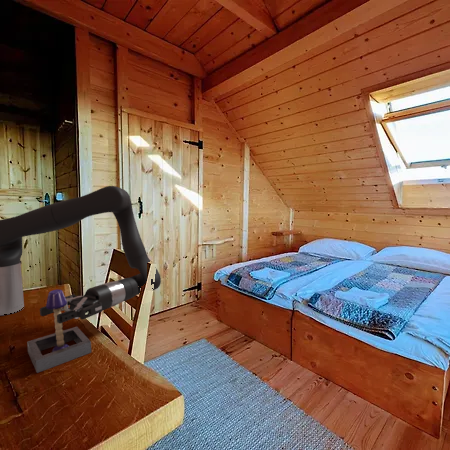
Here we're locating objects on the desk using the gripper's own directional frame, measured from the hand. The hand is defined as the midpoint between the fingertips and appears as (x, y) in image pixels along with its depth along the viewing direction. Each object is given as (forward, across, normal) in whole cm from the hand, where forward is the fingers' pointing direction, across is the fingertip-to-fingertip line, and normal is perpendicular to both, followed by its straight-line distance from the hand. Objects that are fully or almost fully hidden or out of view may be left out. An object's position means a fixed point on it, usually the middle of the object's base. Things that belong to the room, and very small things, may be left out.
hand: (48, 315), depth 68 cm
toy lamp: (-2, 0, +11) cm, 11 cm away
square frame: (-2, 0, +11) cm, 11 cm away
